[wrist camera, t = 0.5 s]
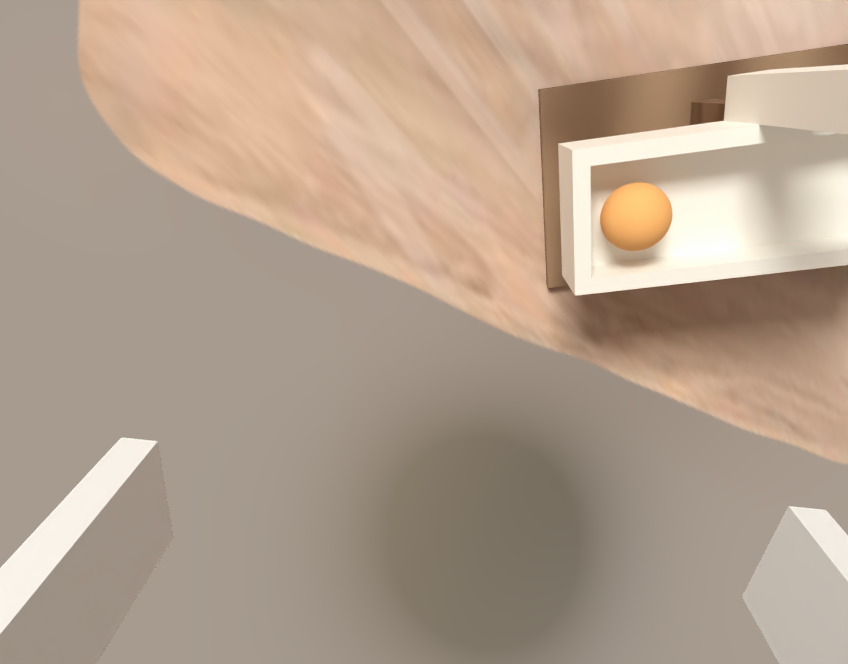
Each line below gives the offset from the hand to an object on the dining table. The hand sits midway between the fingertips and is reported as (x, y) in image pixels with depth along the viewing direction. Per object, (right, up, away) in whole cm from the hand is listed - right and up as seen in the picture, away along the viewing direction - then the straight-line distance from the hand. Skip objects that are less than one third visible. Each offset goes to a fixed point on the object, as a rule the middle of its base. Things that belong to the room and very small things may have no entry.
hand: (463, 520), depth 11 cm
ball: (+9, +10, +14) cm, 19 cm away
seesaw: (+15, +12, +15) cm, 25 cm away
